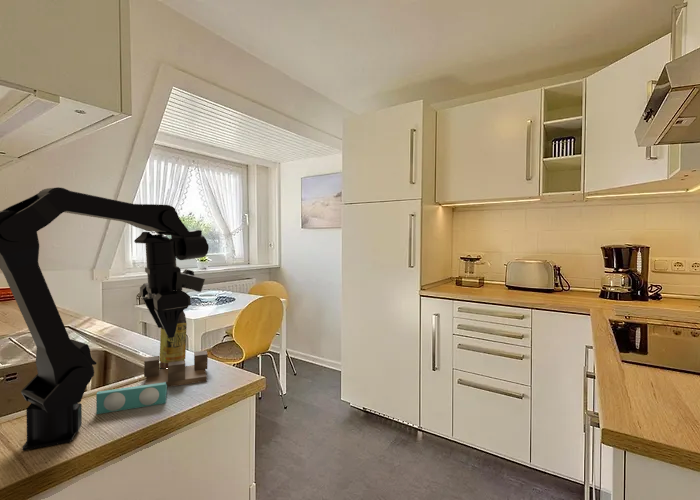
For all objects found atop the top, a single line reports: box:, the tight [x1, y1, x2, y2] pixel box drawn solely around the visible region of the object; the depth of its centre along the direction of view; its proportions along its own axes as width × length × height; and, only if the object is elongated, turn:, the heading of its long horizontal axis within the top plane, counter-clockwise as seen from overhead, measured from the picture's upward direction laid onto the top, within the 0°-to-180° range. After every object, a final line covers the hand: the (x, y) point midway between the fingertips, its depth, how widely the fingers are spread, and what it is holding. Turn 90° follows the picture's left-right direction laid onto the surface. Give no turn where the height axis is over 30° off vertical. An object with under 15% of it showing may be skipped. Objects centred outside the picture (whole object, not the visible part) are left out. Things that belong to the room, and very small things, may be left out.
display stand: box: [143, 350, 209, 388], centre depth 87 cm, size 14×9×5 cm, turn 116°
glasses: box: [95, 382, 168, 415], centre depth 75 cm, size 12×8×4 cm, turn 116°
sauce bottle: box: [159, 310, 188, 369], centre depth 95 cm, size 7×6×20 cm
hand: (165, 332), depth 79 cm, fingers open, 9 cm apart
